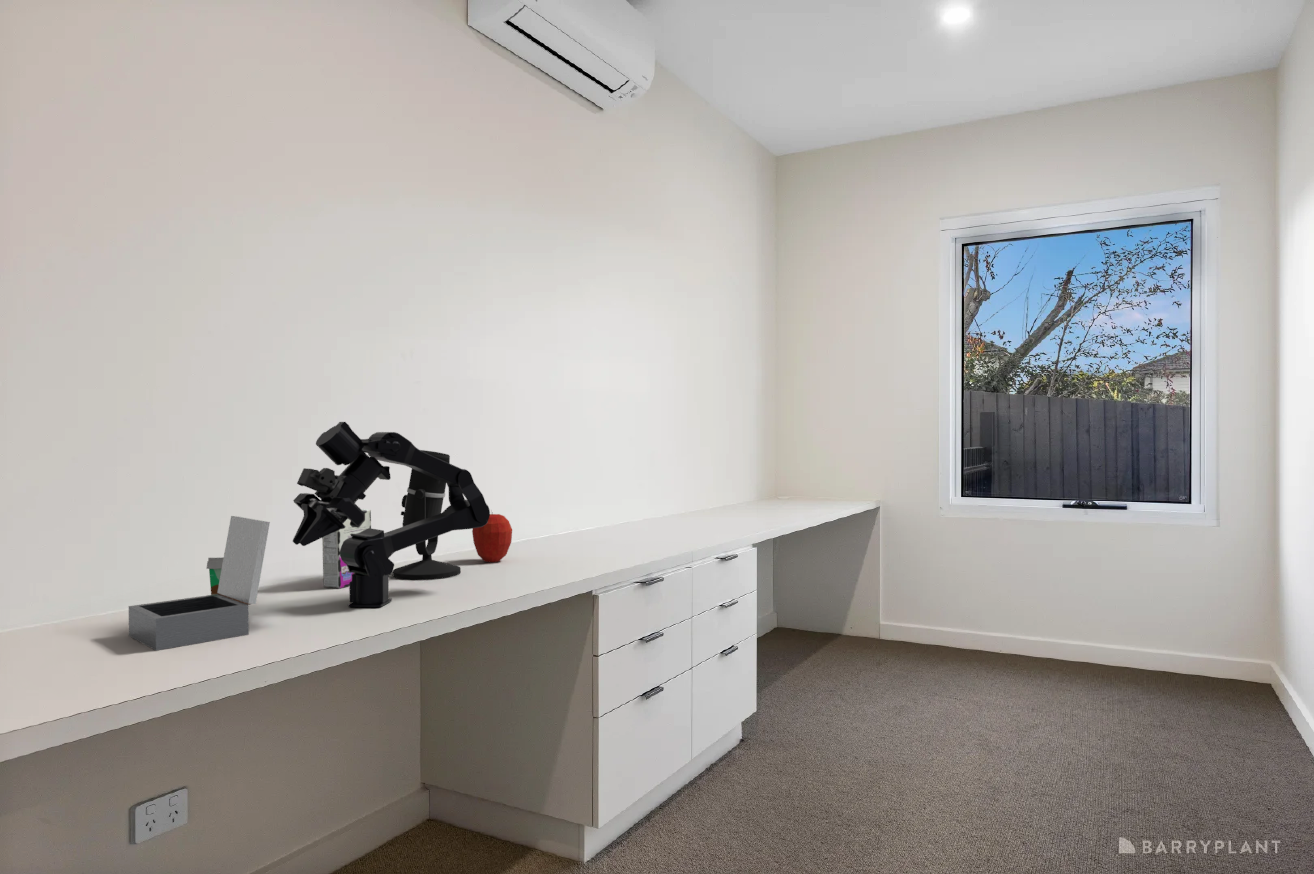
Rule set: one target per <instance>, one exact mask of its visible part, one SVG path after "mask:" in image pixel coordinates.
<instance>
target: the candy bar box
mask: <svg viewBox="0 0 1314 874" xmlns="http://www.w3.org/2000/svg"><path fill="white" fill-rule="evenodd" d="M360 509H361V508H360ZM361 510H362V511H363V512H364V513H365V521H364V522H363V523H362V524H361V526H360V527H359V528H357V527H352V526H351V525H350V522H351V520H349V519H347V520H346V521H345V522H344V523H343V524H344V525H345V528H344V529H340V530H338V531H336V532H333V533H331V534H329V535H327V536H324V537H322V538H321V539H322V540H321V541H322V543H321V545H322V582H323V585H322V586H323V588H328V589H342V588H346V587H349V583H350V582H351V581H352V574H354V573H353V572H352V573H351V572H349V570H348V567H347V564H345V563H344V562H343V561H342V559H341V557H340V549H341V546H342V544H343V542H344V541H345V540H346V539H348V538H350V537H352V536H351V535H350V534H357V533H360V532H362V531H364V530H366V529H368V528H371V529H372V515H371V514H372V512H371V511H372V510H371V509H364V508H363V509H361Z"/></svg>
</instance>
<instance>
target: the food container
mask: <svg viewBox="0 0 1314 874" xmlns="http://www.w3.org/2000/svg"><path fill="white" fill-rule="evenodd" d="M223 558H224V556H223V557H208V561H207V563H206V570H207V569H208V570H209V571H208V573H209V583H210V595H214V594H219V593H217V592H218V586H219V581H220V575H221V570H222V564H223ZM219 595H221V596H224V597H227V596H225V595H222V594H219ZM227 598H230V597H227ZM230 599H233V598H230ZM233 600H236V599H233ZM236 601H238V602H241V603H244V604H247V605H248V606H249V605H251V604H248V603H245V602H242V601H239V600H236Z"/></svg>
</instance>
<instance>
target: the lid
mask: <svg viewBox="0 0 1314 874" xmlns="http://www.w3.org/2000/svg"><path fill="white" fill-rule="evenodd" d="M270 523H271V522H270V521H266V520H259V519H255V518H248V517H242V516H237V515H235V516H234V515H231V516H230V519H229V526H228V531H227V536H226V543H225V549H224V554H223V557H224V558H223V557H222V558H223V564H222V570H221V575H220V581H219V586H218V592H217V593H219V594H222V595H225V596H227V597H230V598H233V599H236V600H239V601H242V602H245V603H248V604H250V605H256V604H257V598H258V593H259V586H260V581H261V575H262V569H263V563H264V558H265V554H266V553H265V551H266V548H267V547H266V546H267V541H268V534H269V528H270Z"/></svg>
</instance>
